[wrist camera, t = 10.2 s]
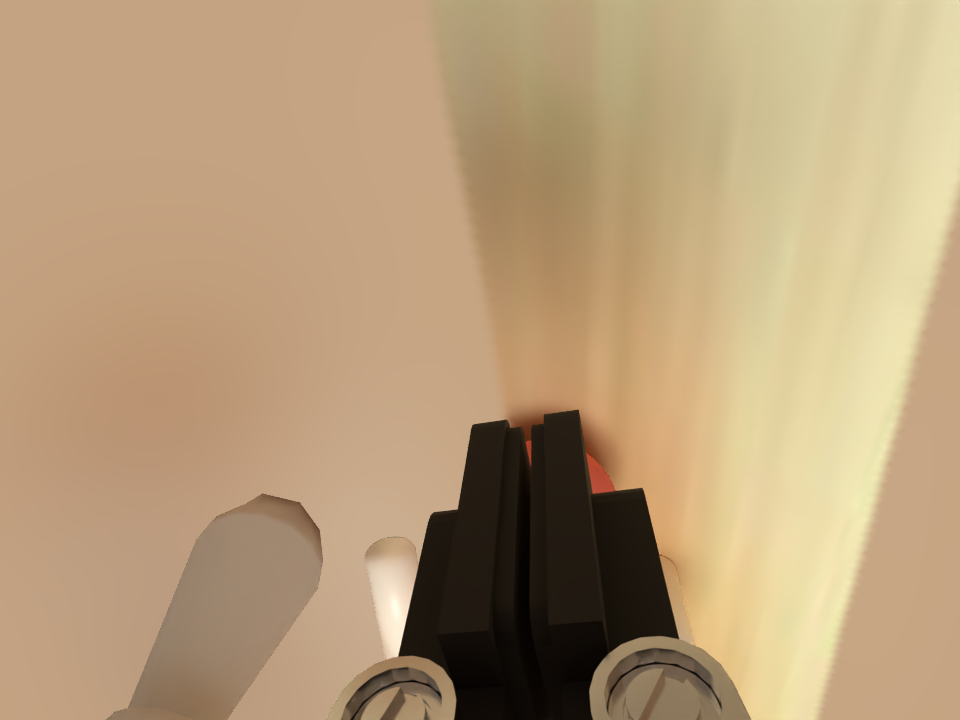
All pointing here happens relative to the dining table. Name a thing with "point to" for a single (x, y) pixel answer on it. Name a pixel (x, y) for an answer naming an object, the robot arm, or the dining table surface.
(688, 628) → the pin
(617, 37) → the dining table surface
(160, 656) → the salt shaker
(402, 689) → the robot arm
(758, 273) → the dining table surface
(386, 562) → the pin
